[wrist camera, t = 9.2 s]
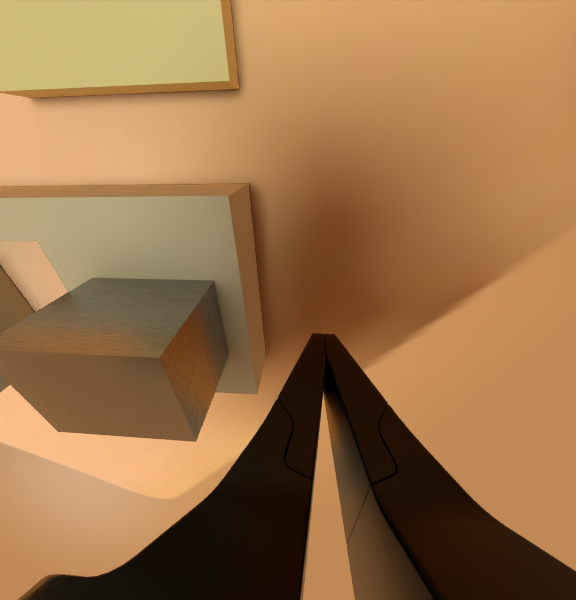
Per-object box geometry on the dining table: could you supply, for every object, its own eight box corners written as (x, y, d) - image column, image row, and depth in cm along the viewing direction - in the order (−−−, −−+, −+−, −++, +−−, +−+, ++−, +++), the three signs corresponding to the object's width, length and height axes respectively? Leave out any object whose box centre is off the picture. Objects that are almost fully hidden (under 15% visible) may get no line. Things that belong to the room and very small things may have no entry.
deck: (248, 183, 10) (204, 209, 6) (265, 353, 15) (249, 431, 11) (-78, 187, 11) (-313, 212, 7) (45, 344, 16) (-44, 412, 12)
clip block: (214, 280, 9) (159, 357, 6) (229, 354, 11) (196, 441, 8) (92, 277, 9) (-26, 348, 6) (130, 349, 12) (58, 431, 8)
